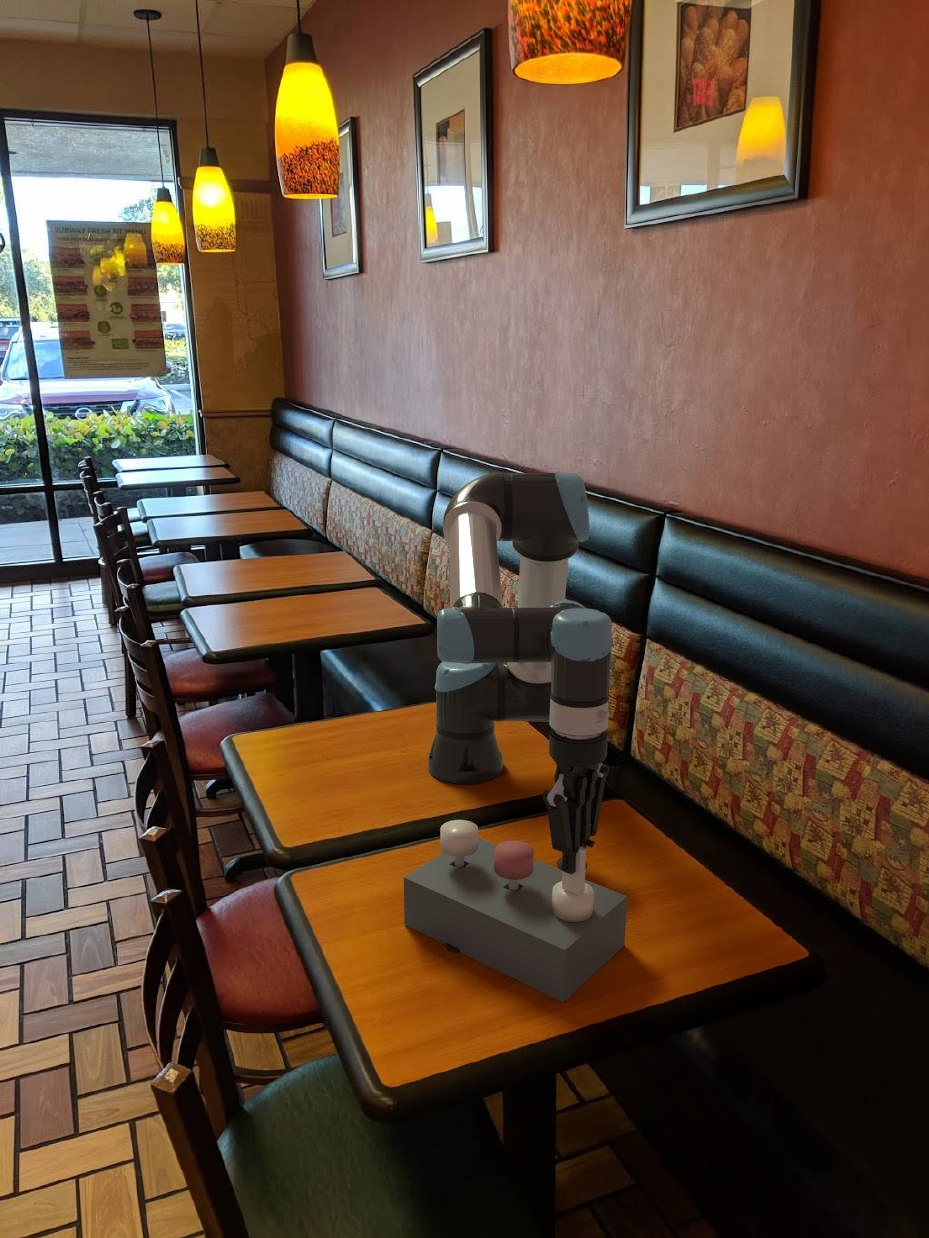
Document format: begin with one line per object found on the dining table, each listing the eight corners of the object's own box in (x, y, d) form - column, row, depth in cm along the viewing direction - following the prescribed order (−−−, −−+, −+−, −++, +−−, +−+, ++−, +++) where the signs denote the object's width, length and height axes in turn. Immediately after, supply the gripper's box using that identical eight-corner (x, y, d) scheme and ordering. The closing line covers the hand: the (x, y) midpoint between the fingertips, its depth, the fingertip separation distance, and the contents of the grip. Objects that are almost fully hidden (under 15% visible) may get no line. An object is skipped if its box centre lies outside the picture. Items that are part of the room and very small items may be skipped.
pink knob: (509, 883, 144) (509, 836, 141) (540, 897, 140) (541, 848, 138) (486, 900, 139) (486, 851, 137) (517, 914, 136) (518, 864, 134)
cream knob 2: (565, 923, 138) (567, 875, 136) (599, 938, 135) (601, 889, 133) (543, 942, 134) (544, 892, 132) (577, 957, 131) (579, 907, 128)
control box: (471, 879, 156) (471, 834, 154) (624, 945, 139) (627, 896, 137) (404, 924, 144) (403, 877, 142) (563, 1002, 127) (564, 949, 125)
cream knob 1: (456, 861, 150) (456, 816, 147) (485, 874, 146) (485, 827, 144) (433, 877, 145) (432, 830, 143) (462, 889, 142) (462, 842, 140)
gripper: (576, 752, 118) (570, 921, 125) (629, 720, 128) (621, 879, 135) (525, 737, 123) (522, 900, 129) (581, 707, 133) (575, 861, 139)
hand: (573, 889), depth 132 cm, fingers closed
